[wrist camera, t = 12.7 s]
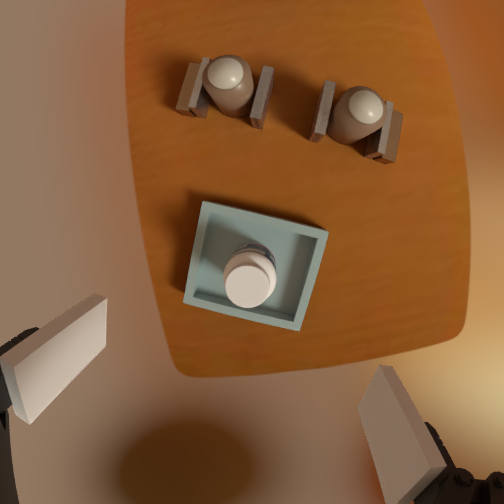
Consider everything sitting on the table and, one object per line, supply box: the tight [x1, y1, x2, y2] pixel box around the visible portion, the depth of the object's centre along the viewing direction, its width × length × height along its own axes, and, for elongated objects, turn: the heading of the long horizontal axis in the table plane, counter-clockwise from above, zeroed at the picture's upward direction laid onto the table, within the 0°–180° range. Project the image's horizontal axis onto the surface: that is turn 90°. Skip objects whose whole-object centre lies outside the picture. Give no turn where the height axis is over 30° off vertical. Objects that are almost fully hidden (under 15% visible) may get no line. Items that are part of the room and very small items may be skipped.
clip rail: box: [176, 57, 403, 164], centre depth 29 cm, size 6×25×5 cm, turn 77°
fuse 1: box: [202, 55, 256, 118], centre depth 28 cm, size 5×5×9 cm
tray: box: [183, 200, 329, 331], centre depth 34 cm, size 12×14×2 cm
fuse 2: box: [326, 86, 387, 145], centre depth 27 cm, size 5×5×9 cm
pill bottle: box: [223, 243, 276, 308], centre depth 31 cm, size 5×5×9 cm
